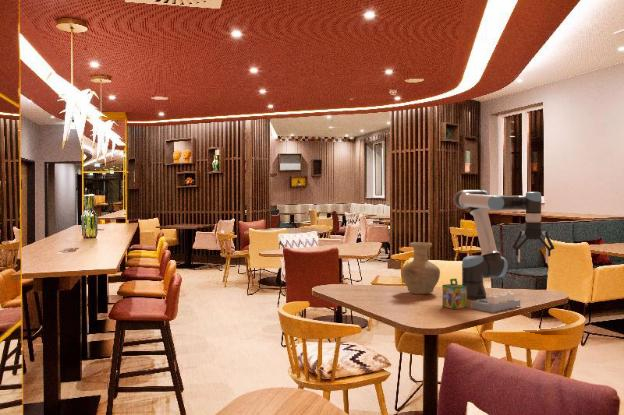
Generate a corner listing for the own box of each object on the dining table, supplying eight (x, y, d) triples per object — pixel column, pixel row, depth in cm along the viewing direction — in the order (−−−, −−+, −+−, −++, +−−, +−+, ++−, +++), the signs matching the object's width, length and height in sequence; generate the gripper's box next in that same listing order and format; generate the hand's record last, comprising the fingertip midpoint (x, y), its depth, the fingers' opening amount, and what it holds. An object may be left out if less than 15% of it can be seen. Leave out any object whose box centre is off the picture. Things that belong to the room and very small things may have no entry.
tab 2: (502, 306, 270) (502, 294, 270) (495, 304, 274) (495, 293, 274) (506, 305, 273) (506, 293, 272) (499, 304, 276) (500, 292, 276)
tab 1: (494, 307, 266) (494, 295, 266) (487, 306, 270) (487, 294, 269) (498, 307, 268) (498, 294, 268) (491, 305, 272) (491, 293, 272)
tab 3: (510, 304, 275) (510, 292, 274) (503, 303, 278) (503, 291, 278) (514, 303, 277) (514, 291, 277) (507, 302, 280) (507, 290, 280)
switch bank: (492, 312, 263) (492, 305, 263) (470, 308, 274) (470, 300, 274) (520, 306, 278) (520, 299, 278) (498, 302, 288) (498, 295, 288)
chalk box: (454, 309, 270) (454, 281, 269) (441, 306, 278) (441, 278, 277) (467, 308, 274) (467, 279, 274) (454, 304, 282) (454, 277, 282)
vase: (397, 295, 309) (398, 244, 308) (405, 289, 329) (405, 241, 329) (437, 298, 301) (437, 245, 300) (442, 291, 322) (442, 242, 321)
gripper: (508, 221, 275) (508, 262, 275) (560, 222, 269) (560, 264, 269) (507, 221, 282) (506, 260, 283) (557, 221, 276) (557, 262, 276)
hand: (532, 262), depth 276 cm, fingers open, 13 cm apart
